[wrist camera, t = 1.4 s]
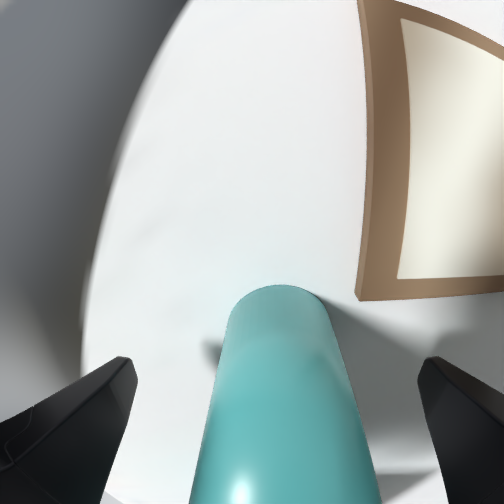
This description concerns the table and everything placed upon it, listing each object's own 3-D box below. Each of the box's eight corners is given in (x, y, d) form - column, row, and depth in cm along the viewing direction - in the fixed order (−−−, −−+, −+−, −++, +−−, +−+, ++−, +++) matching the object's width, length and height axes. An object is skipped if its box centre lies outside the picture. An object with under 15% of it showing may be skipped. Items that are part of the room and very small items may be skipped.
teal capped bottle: (338, 282, 9) (450, 579, 1) (325, 369, 10) (362, 595, 2) (221, 281, 9) (126, 599, 1) (227, 368, 11) (187, 599, 2)
